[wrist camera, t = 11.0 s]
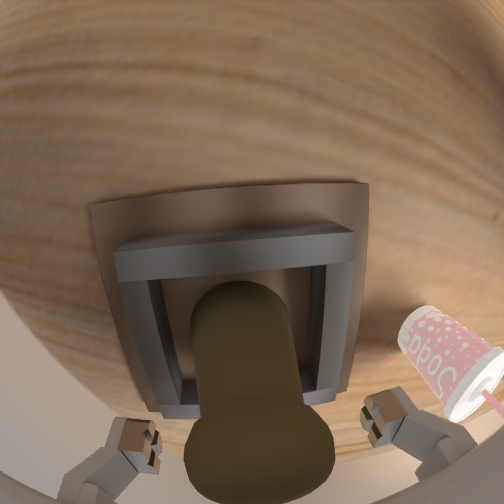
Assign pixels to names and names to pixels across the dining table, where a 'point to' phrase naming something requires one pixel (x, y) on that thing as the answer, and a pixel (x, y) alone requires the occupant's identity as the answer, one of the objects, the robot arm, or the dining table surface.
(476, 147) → the dining table surface
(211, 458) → the olive pawn peg
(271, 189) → the socket base
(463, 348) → the beverage cup
